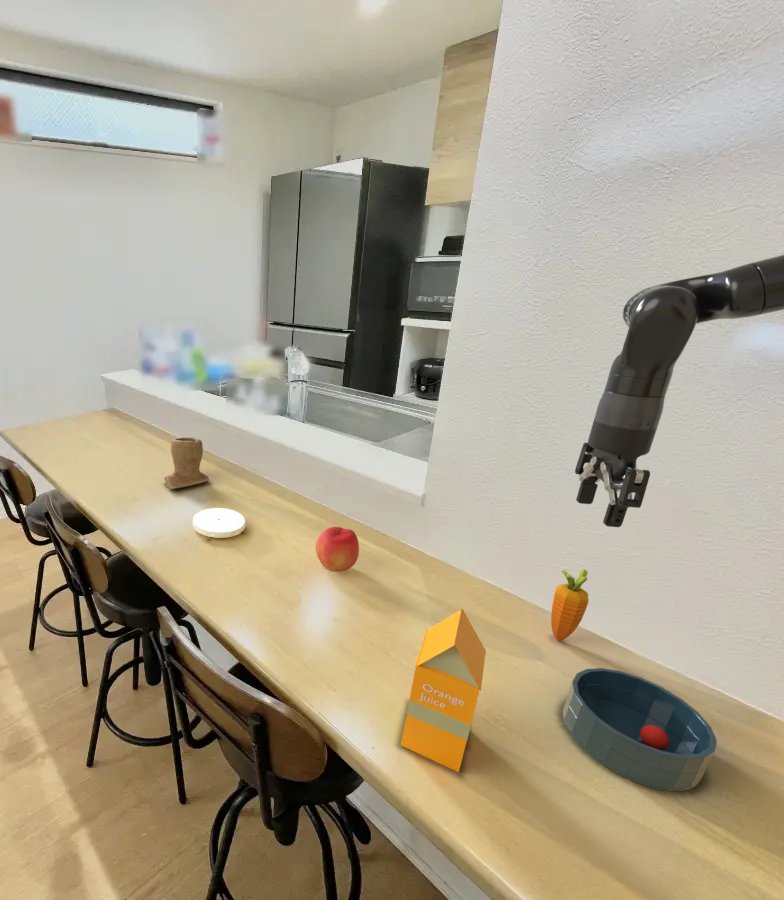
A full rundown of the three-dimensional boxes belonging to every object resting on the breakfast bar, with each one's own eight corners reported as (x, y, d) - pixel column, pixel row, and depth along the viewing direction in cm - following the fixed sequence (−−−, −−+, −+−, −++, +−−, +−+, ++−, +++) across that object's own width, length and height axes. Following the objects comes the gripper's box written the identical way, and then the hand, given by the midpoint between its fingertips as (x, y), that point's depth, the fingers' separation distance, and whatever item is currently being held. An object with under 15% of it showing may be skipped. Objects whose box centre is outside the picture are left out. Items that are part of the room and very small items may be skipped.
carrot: (548, 647, 90) (569, 577, 84) (537, 629, 94) (556, 561, 89) (580, 651, 88) (603, 580, 83) (566, 633, 93) (588, 565, 88)
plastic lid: (230, 546, 123) (230, 537, 122) (182, 532, 130) (182, 523, 129) (253, 523, 134) (253, 515, 134) (208, 511, 141) (208, 503, 140)
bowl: (683, 725, 74) (697, 694, 72) (716, 814, 62) (734, 780, 60) (559, 683, 82) (568, 654, 80) (567, 755, 70) (578, 723, 68)
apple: (358, 562, 116) (363, 525, 113) (353, 584, 108) (358, 544, 104) (317, 553, 120) (320, 517, 116) (309, 574, 112) (312, 535, 108)
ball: (662, 742, 71) (669, 726, 70) (667, 758, 68) (674, 742, 67) (635, 732, 72) (641, 716, 71) (639, 748, 70) (646, 732, 69)
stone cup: (195, 472, 169) (195, 430, 164) (213, 484, 160) (214, 440, 154) (155, 480, 163) (154, 437, 158) (172, 494, 153) (171, 448, 148)
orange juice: (399, 745, 71) (421, 632, 64) (411, 703, 78) (432, 597, 71) (460, 773, 67) (490, 656, 60) (467, 726, 74) (494, 617, 67)
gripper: (686, 436, 69) (650, 537, 75) (626, 410, 82) (599, 498, 88) (624, 432, 71) (593, 532, 76) (575, 407, 84) (551, 494, 89)
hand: (596, 513), depth 82 cm, fingers open, 8 cm apart
